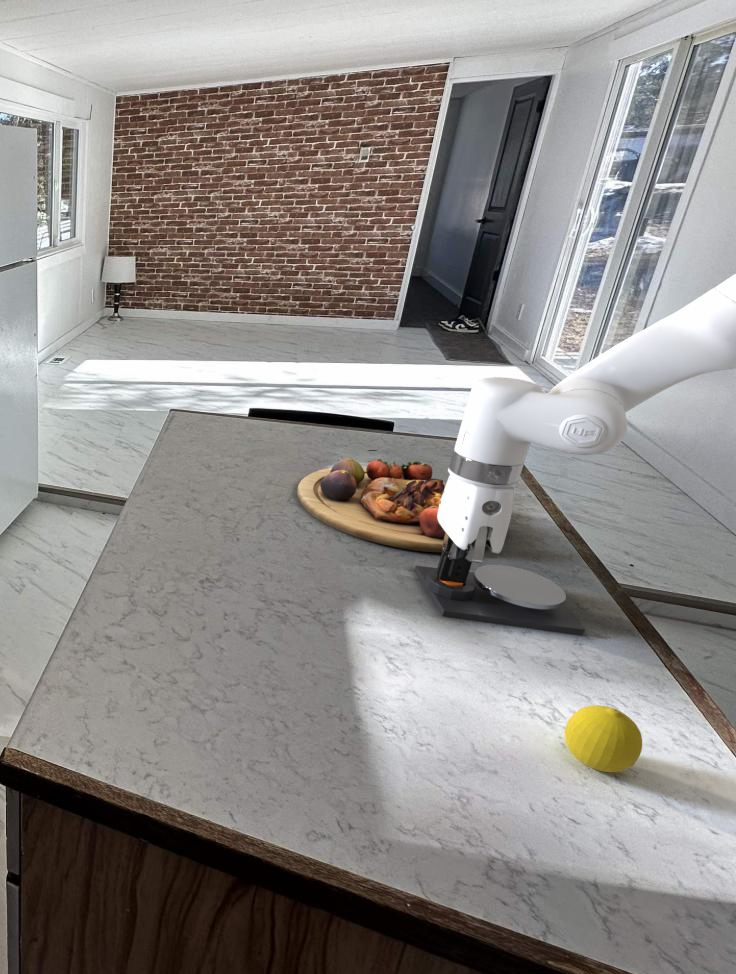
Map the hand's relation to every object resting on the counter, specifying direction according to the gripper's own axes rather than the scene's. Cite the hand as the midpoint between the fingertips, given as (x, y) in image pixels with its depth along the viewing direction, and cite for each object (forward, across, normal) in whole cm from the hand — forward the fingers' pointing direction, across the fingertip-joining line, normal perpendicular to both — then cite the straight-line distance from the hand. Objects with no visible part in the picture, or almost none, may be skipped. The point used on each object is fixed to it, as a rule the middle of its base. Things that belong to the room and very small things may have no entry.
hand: (450, 578), depth 95 cm
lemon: (+4, -30, -4) cm, 31 cm away
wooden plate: (+4, +29, -1) cm, 29 cm away
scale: (+4, 0, -6) cm, 7 cm away
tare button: (+2, 0, 0) cm, 2 cm away
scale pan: (0, 0, -8) cm, 8 cm away
